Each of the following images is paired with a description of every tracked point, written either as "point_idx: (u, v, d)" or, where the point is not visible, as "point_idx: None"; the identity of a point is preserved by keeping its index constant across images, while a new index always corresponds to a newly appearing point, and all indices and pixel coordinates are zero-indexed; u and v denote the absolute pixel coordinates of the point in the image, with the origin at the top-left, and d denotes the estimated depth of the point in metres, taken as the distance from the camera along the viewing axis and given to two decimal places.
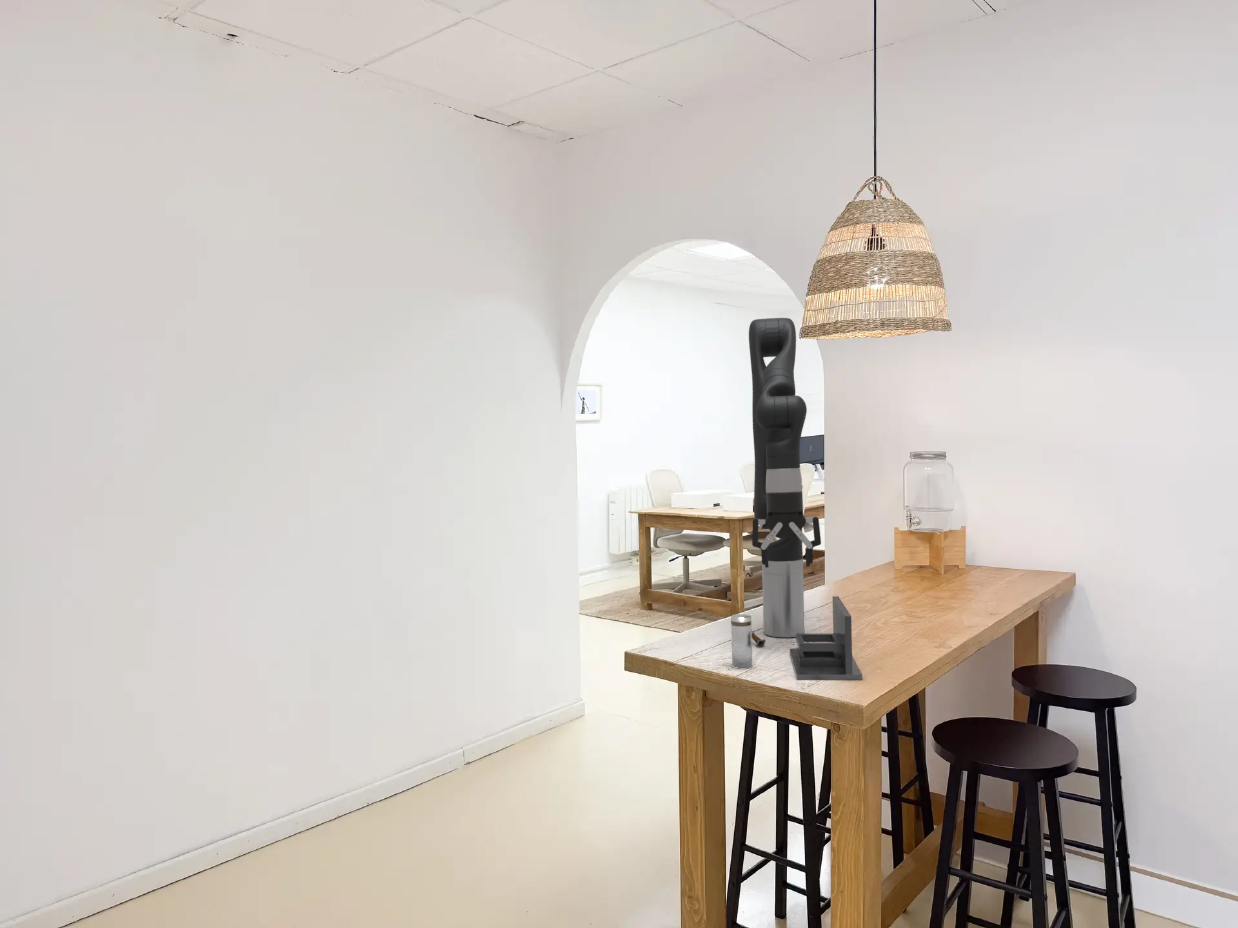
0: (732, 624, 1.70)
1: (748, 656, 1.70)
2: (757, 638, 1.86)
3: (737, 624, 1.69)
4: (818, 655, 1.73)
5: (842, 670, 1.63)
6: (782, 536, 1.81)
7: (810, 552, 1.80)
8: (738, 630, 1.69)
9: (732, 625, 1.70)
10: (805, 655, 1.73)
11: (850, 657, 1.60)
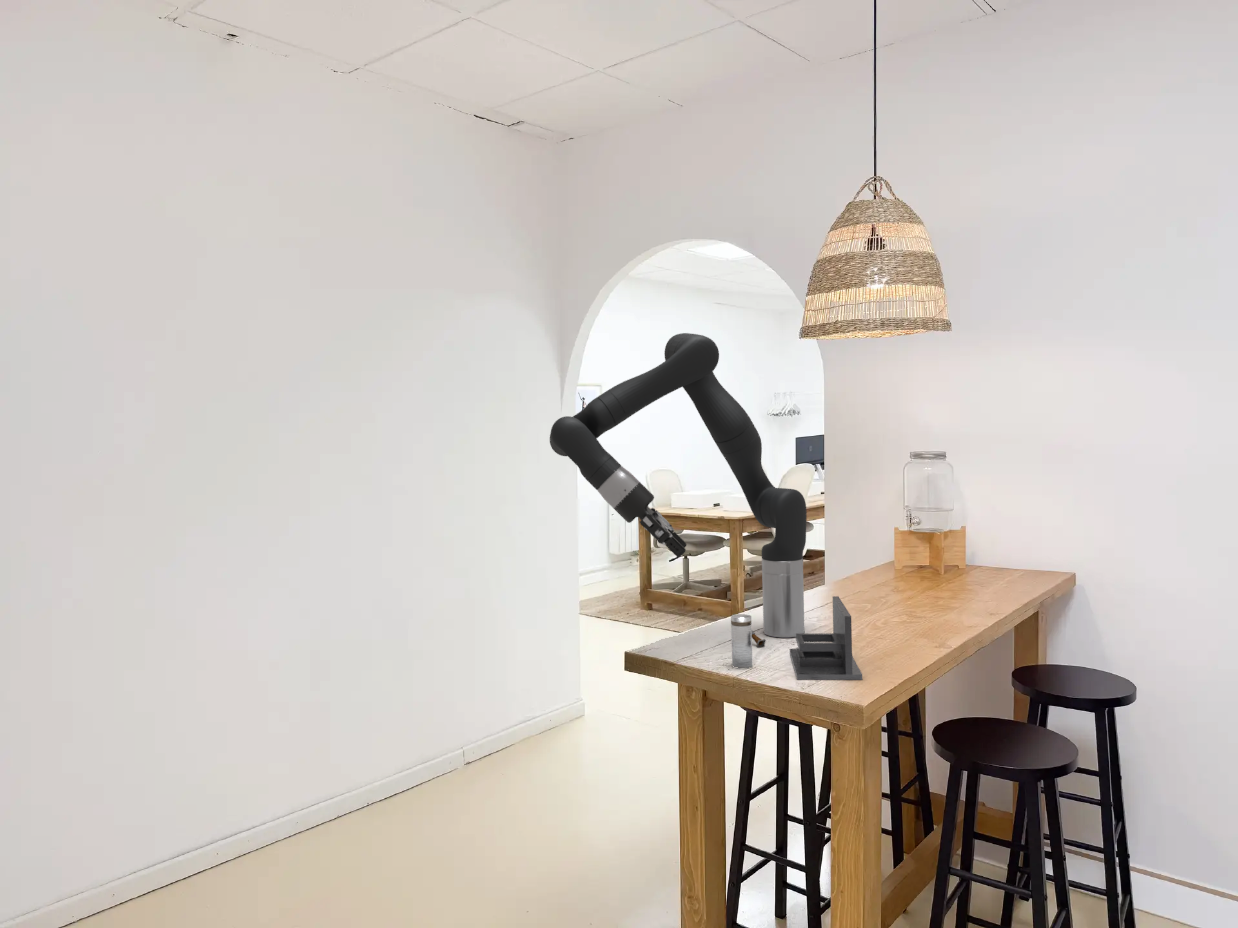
0: (732, 624, 1.70)
1: (748, 656, 1.70)
2: (757, 638, 1.86)
3: (737, 624, 1.69)
4: (818, 655, 1.73)
5: (842, 670, 1.63)
6: None
7: None
8: (738, 630, 1.69)
9: (732, 625, 1.70)
10: (805, 655, 1.73)
11: (850, 657, 1.60)
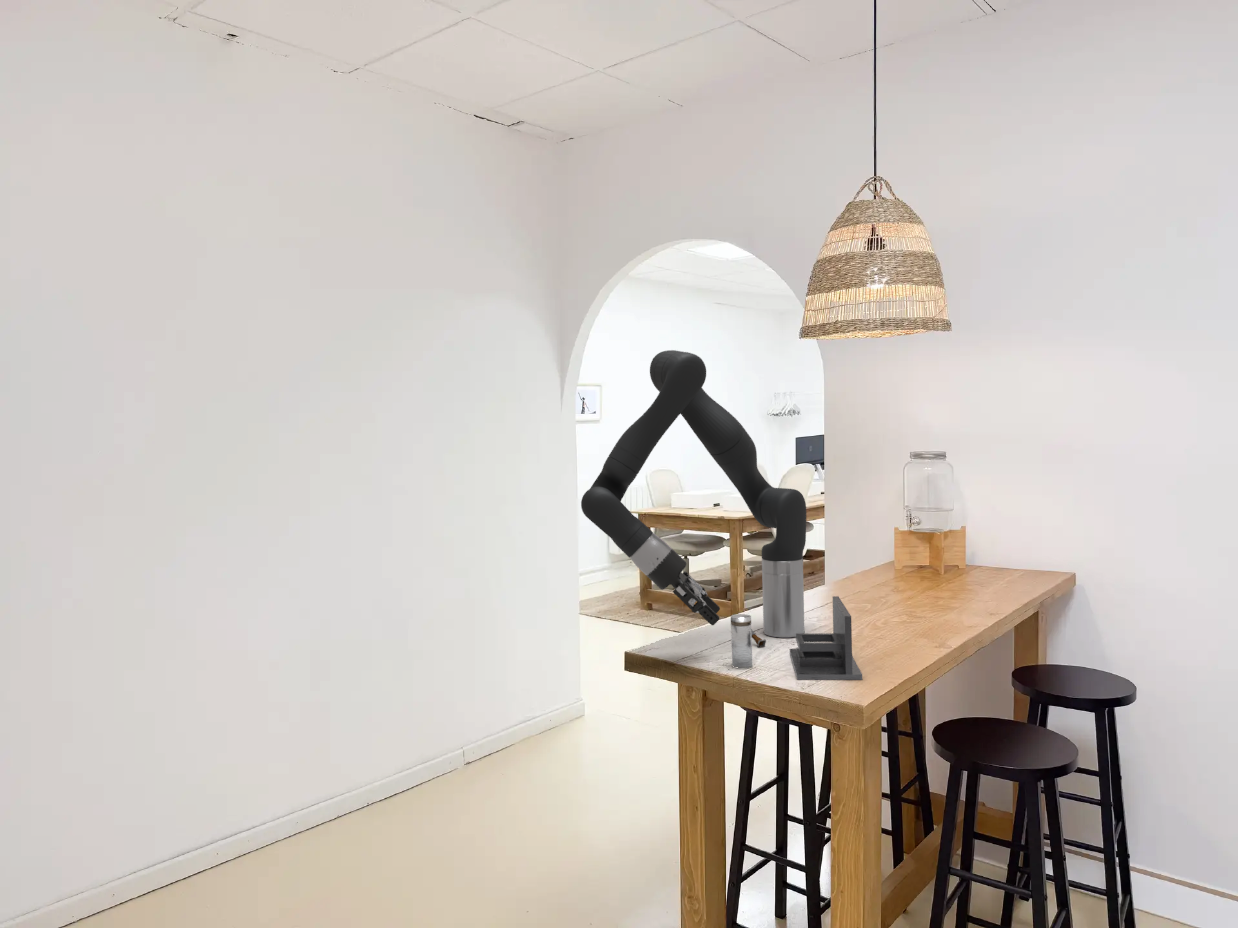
0: (732, 624, 1.70)
1: (748, 656, 1.70)
2: (758, 638, 1.86)
3: (737, 624, 1.69)
4: (818, 655, 1.73)
5: (842, 670, 1.63)
6: None
7: None
8: (738, 630, 1.69)
9: (732, 625, 1.70)
10: (805, 655, 1.73)
11: (850, 657, 1.60)
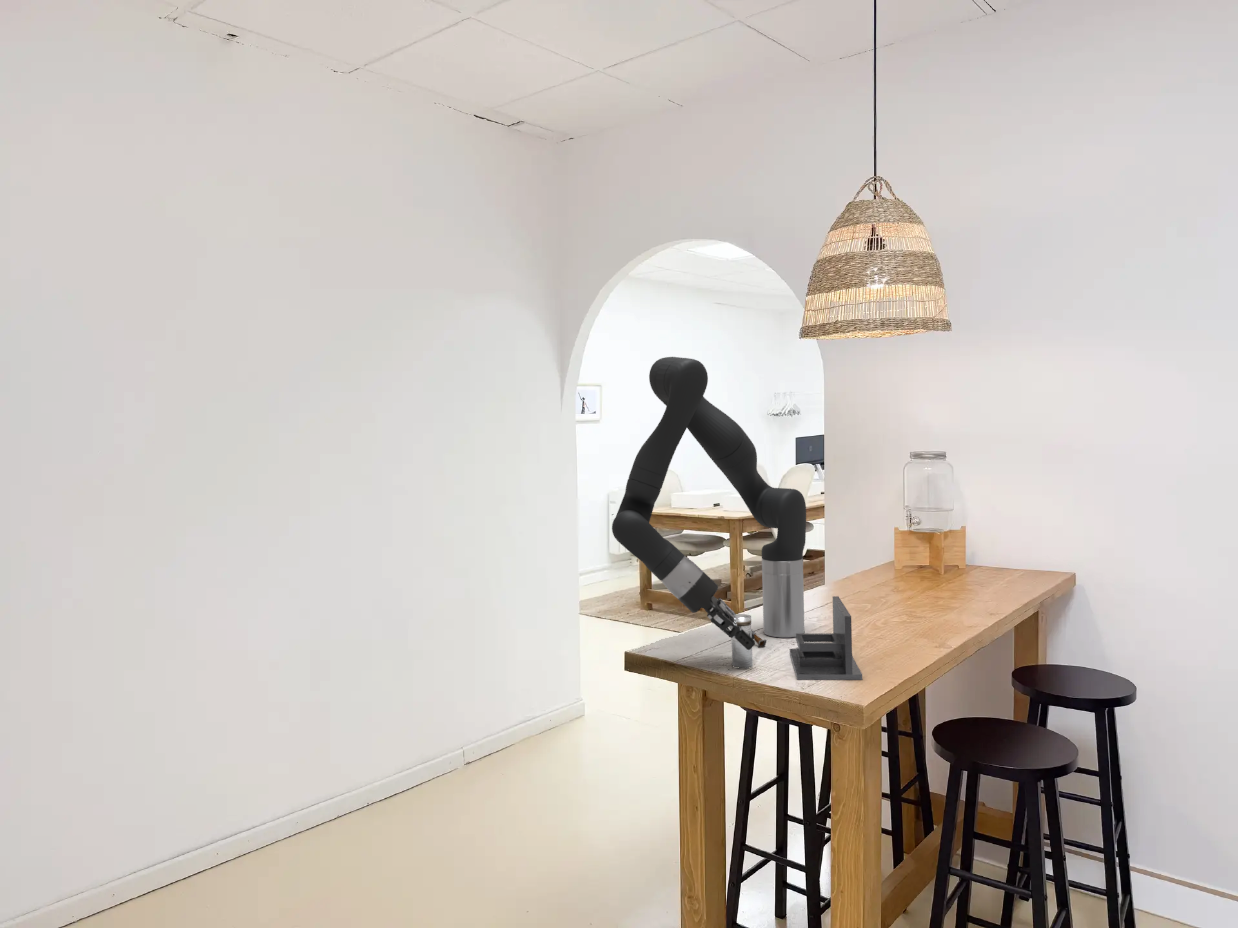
0: None
1: (748, 656, 1.70)
2: (758, 638, 1.86)
3: None
4: (818, 655, 1.73)
5: (842, 670, 1.63)
6: None
7: None
8: None
9: None
10: (805, 655, 1.73)
11: (850, 657, 1.60)
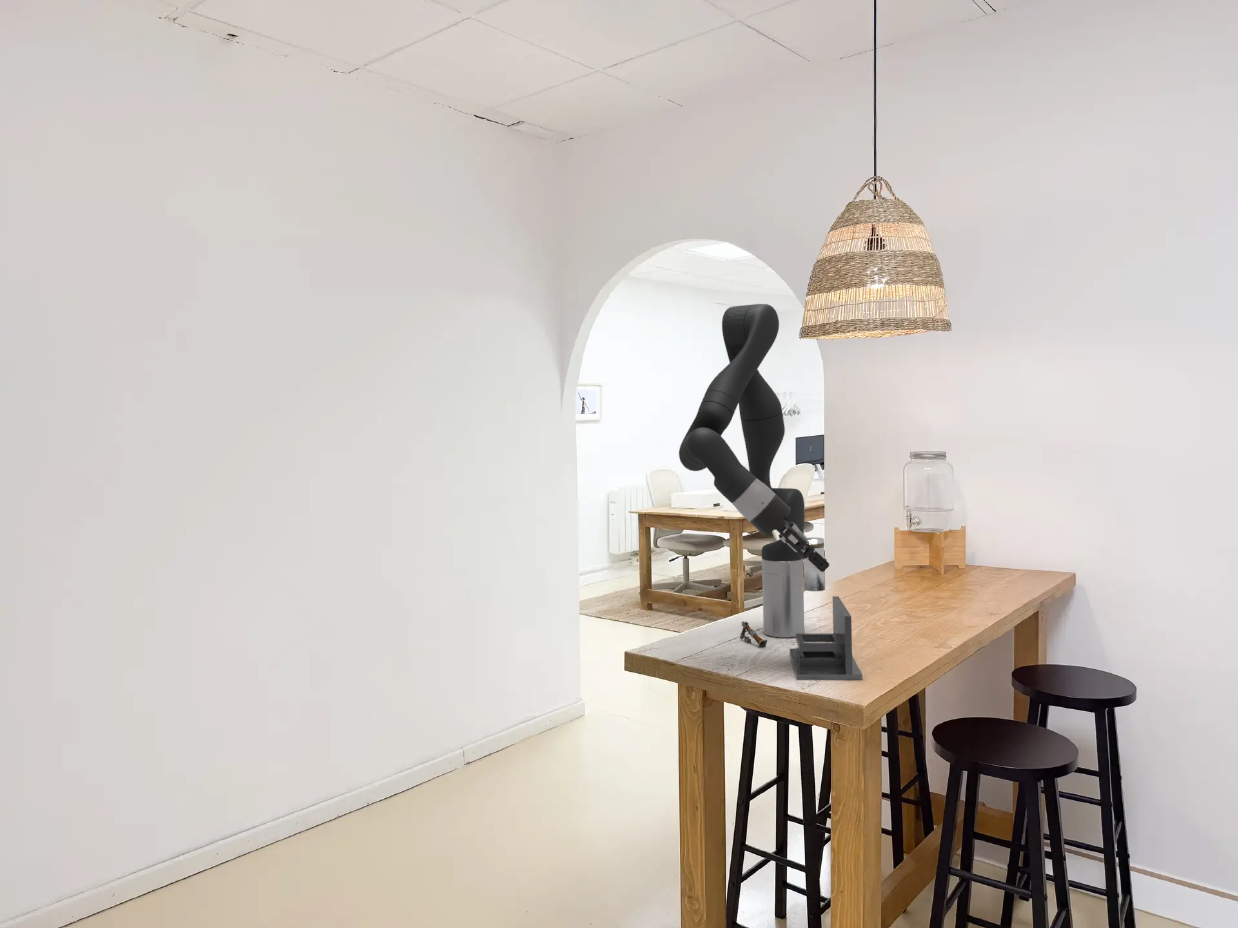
0: (805, 546, 1.68)
1: (822, 578, 1.67)
2: (759, 638, 1.85)
3: None
4: (818, 655, 1.73)
5: (842, 670, 1.63)
6: None
7: (812, 561, 1.66)
8: None
9: (805, 547, 1.68)
10: (805, 655, 1.73)
11: (850, 657, 1.60)
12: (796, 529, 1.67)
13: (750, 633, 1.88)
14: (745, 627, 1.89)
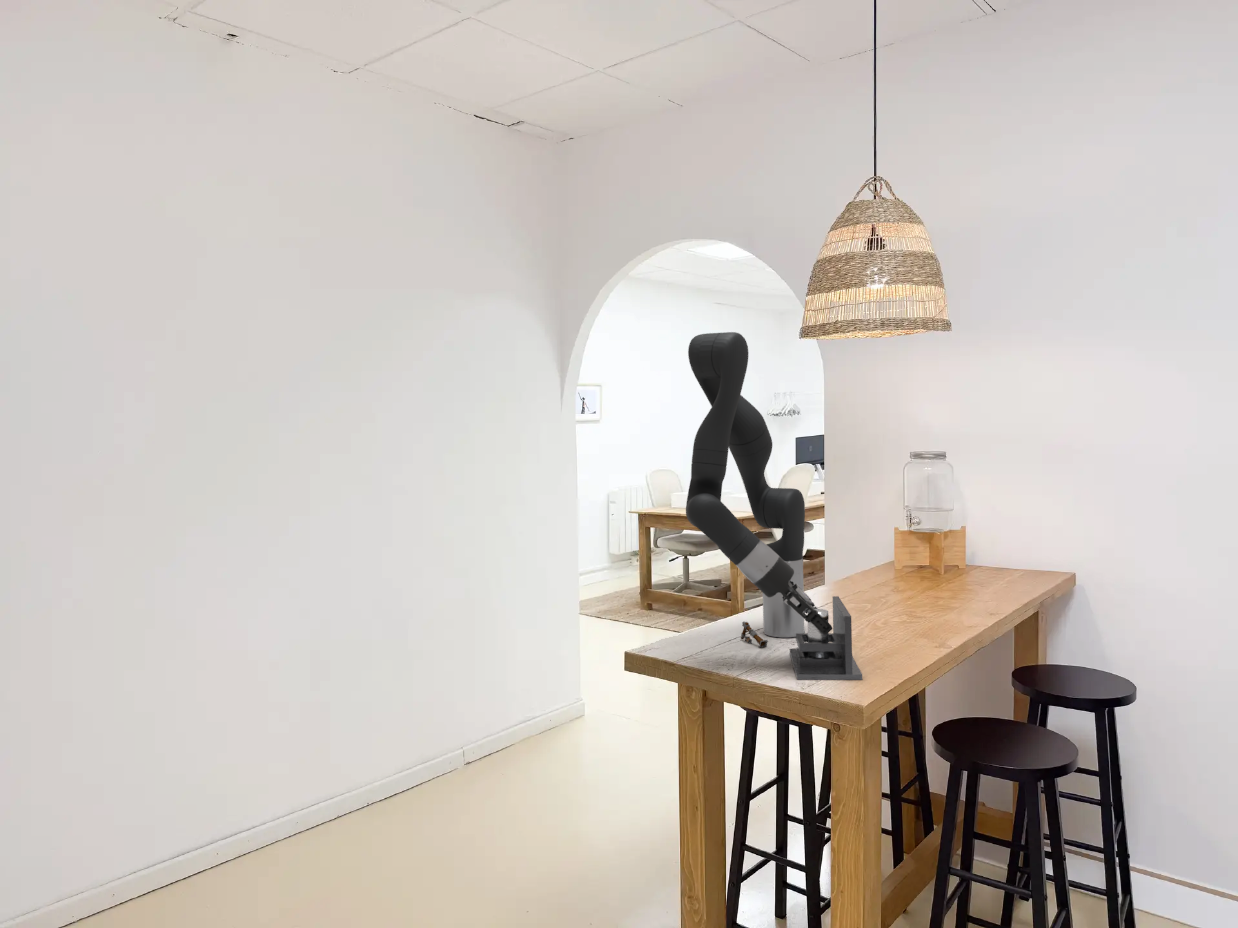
0: None
1: (825, 651, 1.68)
2: (759, 639, 1.85)
3: None
4: None
5: (842, 670, 1.63)
6: None
7: (815, 623, 1.65)
8: None
9: None
10: (805, 655, 1.73)
11: (850, 657, 1.60)
12: (800, 592, 1.67)
13: (751, 633, 1.87)
14: (746, 627, 1.89)
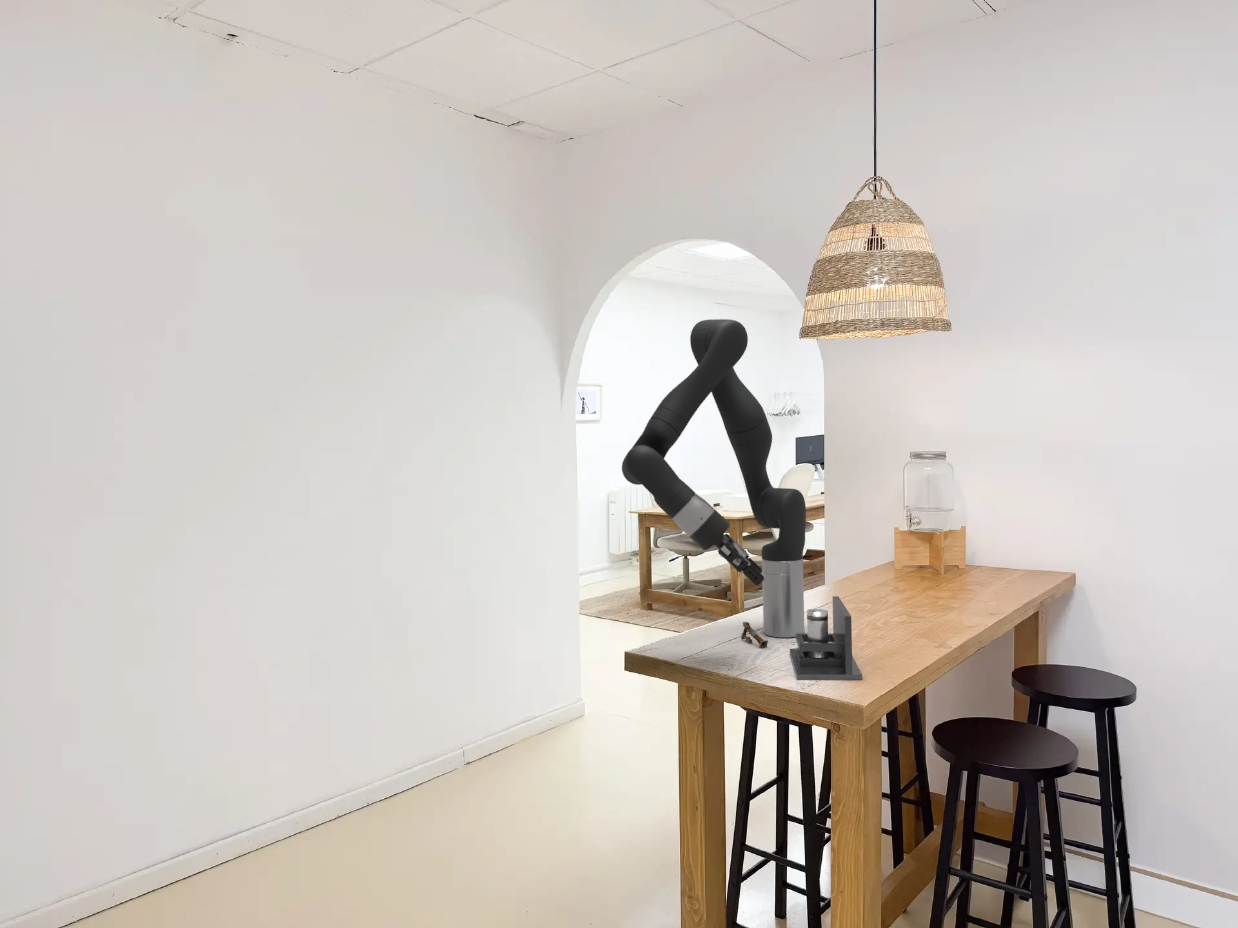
0: (808, 619, 1.68)
1: (825, 651, 1.68)
2: (760, 639, 1.85)
3: (814, 619, 1.67)
4: None
5: (842, 670, 1.63)
6: None
7: None
8: (815, 625, 1.67)
9: (808, 620, 1.68)
10: (805, 655, 1.73)
11: (850, 657, 1.60)
12: (735, 544, 1.68)
13: (751, 633, 1.87)
14: (746, 627, 1.89)
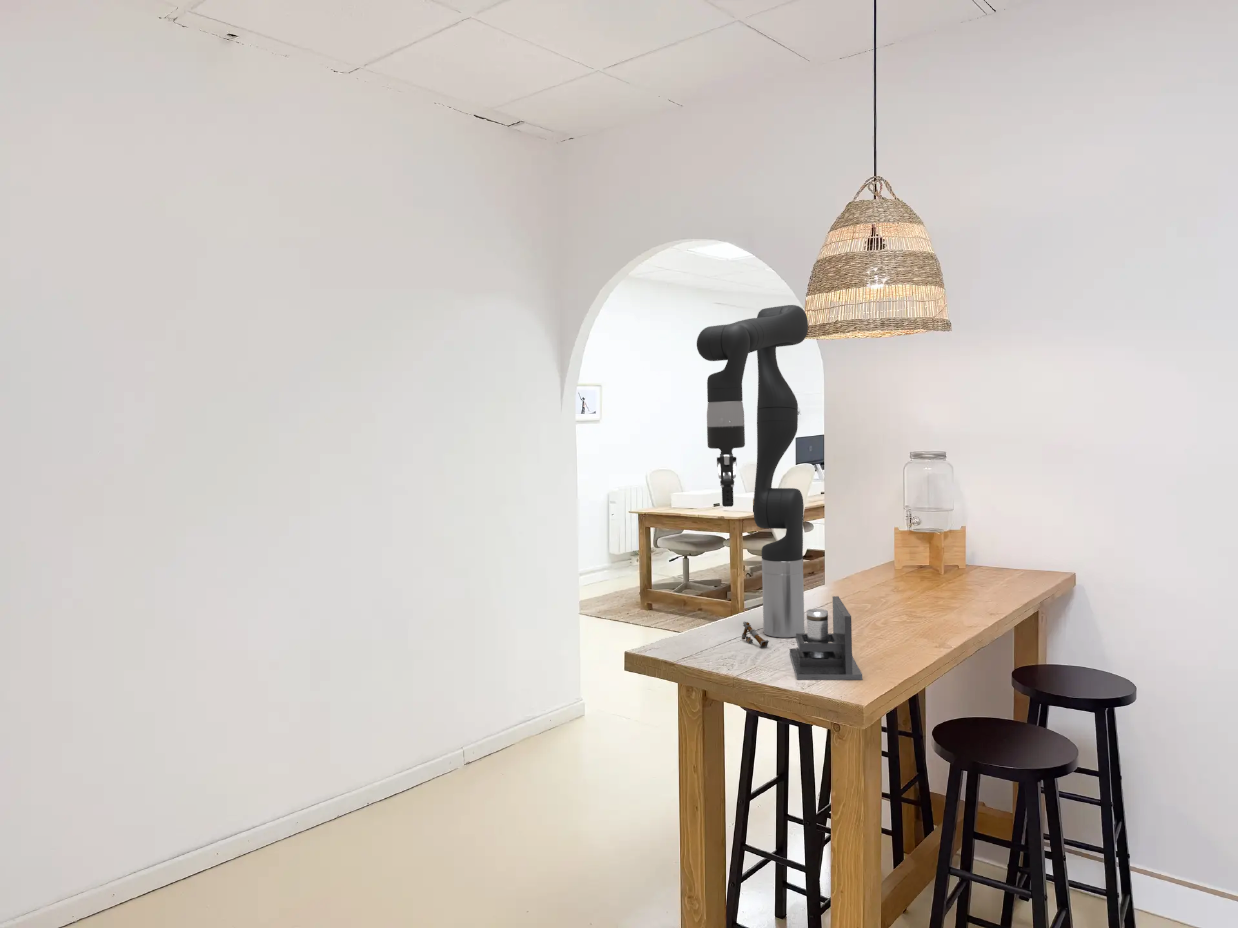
0: (808, 619, 1.68)
1: (825, 651, 1.68)
2: (760, 639, 1.85)
3: (814, 619, 1.67)
4: None
5: (842, 670, 1.63)
6: None
7: (724, 491, 1.69)
8: (815, 625, 1.67)
9: (808, 620, 1.68)
10: (805, 655, 1.73)
11: (850, 657, 1.60)
12: (734, 463, 1.71)
13: (752, 633, 1.87)
14: (747, 627, 1.89)
